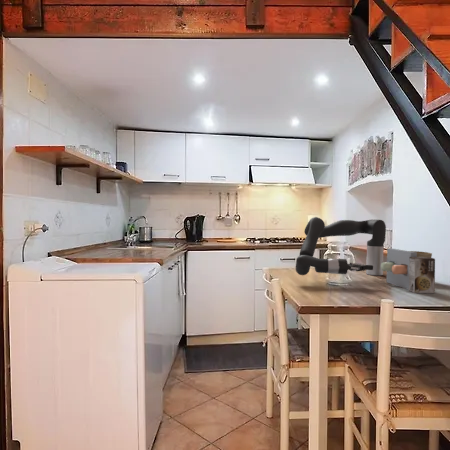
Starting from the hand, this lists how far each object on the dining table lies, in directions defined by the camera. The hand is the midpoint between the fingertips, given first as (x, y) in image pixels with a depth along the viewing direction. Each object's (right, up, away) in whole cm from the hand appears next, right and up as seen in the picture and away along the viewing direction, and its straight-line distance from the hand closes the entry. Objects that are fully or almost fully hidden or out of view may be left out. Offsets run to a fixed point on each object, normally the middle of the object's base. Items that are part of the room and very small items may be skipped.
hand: (372, 267), depth 172 cm
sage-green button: (+13, -3, +9) cm, 16 cm away
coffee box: (+19, -10, -9) cm, 23 cm away
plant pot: (+30, -10, +17) cm, 36 cm away
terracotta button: (+14, -3, -1) cm, 14 cm away
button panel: (+16, -10, +4) cm, 19 cm away
